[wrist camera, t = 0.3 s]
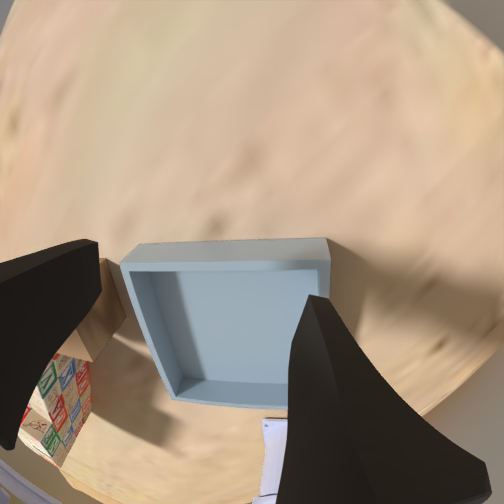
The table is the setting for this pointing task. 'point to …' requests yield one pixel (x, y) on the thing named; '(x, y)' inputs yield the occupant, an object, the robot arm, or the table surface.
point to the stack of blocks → (57, 409)
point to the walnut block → (96, 322)
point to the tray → (225, 314)
